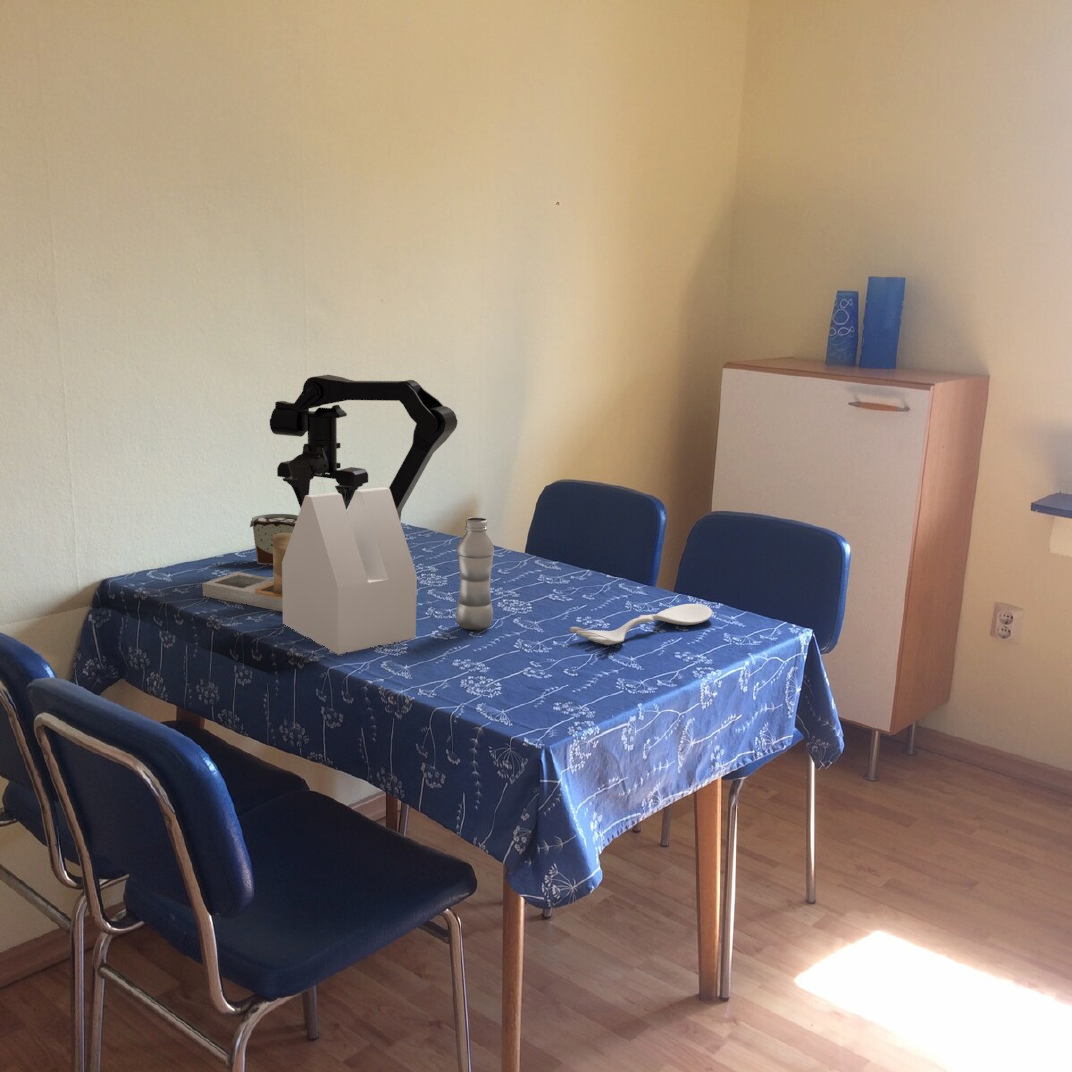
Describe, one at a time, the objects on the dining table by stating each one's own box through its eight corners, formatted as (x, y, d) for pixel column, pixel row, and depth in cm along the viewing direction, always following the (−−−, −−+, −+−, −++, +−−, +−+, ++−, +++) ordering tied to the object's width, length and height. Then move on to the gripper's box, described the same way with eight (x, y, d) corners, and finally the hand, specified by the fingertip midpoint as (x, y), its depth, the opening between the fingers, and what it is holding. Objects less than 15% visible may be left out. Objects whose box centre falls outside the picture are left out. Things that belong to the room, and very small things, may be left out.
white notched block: (415, 638, 193) (417, 497, 187) (338, 655, 183) (337, 506, 177) (357, 611, 207) (358, 479, 201) (282, 625, 197) (280, 486, 192)
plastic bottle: (495, 633, 197) (498, 523, 192) (456, 634, 195) (459, 523, 191) (490, 622, 203) (493, 515, 198) (453, 623, 202) (455, 515, 197)
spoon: (567, 644, 193) (568, 625, 193) (684, 611, 215) (685, 594, 214) (604, 658, 187) (605, 638, 186) (721, 623, 208) (723, 605, 208)
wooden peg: (304, 599, 212) (303, 533, 209) (296, 607, 207) (295, 539, 204) (278, 598, 213) (277, 532, 210) (270, 605, 208) (269, 538, 205)
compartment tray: (324, 600, 212) (324, 586, 212) (292, 613, 204) (291, 598, 203) (237, 584, 221) (237, 570, 220) (202, 595, 212) (202, 581, 211)
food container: (315, 559, 242) (315, 515, 239) (307, 567, 236) (306, 521, 233) (260, 556, 243) (259, 511, 240) (250, 563, 237) (249, 517, 234)
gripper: (258, 438, 219) (260, 515, 223) (337, 448, 212) (337, 527, 215) (293, 432, 229) (294, 506, 233) (369, 441, 221) (369, 517, 225)
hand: (322, 514), depth 226 cm, fingers open, 9 cm apart
